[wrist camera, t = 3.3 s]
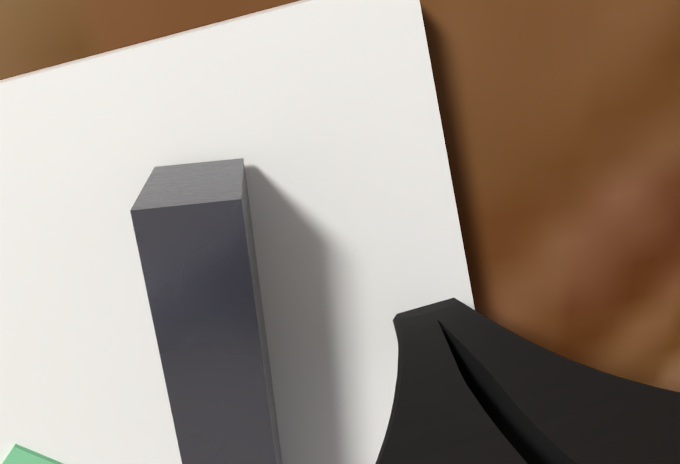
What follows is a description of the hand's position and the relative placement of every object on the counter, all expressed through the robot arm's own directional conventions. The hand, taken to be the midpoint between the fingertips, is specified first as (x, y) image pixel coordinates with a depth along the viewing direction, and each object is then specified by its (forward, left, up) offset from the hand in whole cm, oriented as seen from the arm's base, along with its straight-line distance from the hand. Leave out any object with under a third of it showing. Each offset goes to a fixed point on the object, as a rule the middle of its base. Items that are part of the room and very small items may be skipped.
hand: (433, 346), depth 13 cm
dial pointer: (+5, +2, -1) cm, 5 cm away
